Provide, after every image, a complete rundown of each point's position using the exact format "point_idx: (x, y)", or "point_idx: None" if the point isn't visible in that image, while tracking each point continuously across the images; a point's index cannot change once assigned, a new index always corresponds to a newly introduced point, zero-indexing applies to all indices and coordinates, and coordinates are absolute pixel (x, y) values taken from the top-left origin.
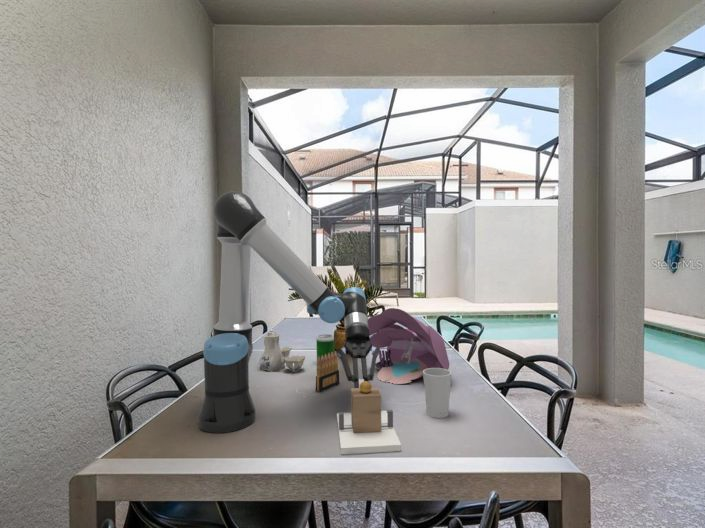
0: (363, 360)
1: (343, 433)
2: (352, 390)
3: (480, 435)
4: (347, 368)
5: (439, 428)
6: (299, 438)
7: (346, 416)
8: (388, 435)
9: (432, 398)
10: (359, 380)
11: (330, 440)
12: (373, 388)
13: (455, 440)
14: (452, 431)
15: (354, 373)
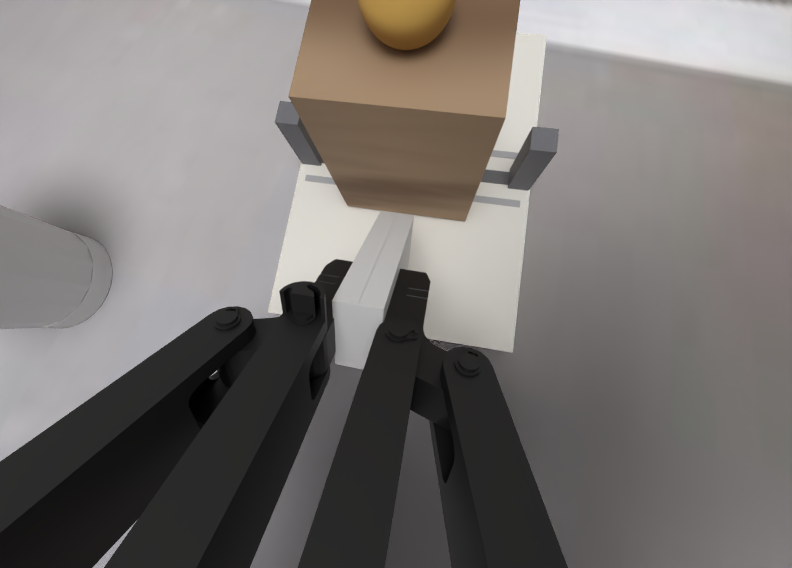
0: (167, 561)
1: (518, 137)
2: (502, 71)
3: (51, 80)
4: (499, 463)
5: (140, 154)
6: (690, 200)
7: (472, 298)
8: None
9: (10, 218)
10: (379, 298)
11: (562, 157)
12: (326, 78)
13: (144, 67)
14: (113, 124)
15: (410, 373)
